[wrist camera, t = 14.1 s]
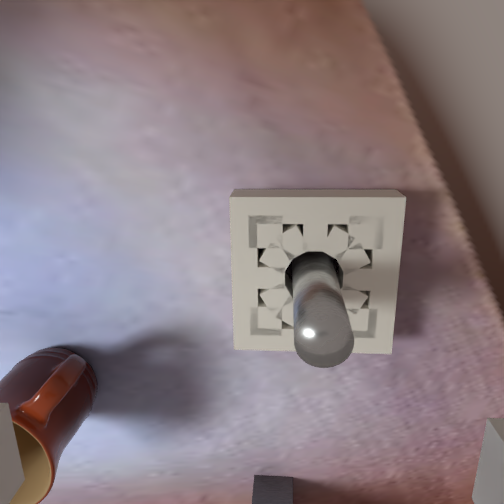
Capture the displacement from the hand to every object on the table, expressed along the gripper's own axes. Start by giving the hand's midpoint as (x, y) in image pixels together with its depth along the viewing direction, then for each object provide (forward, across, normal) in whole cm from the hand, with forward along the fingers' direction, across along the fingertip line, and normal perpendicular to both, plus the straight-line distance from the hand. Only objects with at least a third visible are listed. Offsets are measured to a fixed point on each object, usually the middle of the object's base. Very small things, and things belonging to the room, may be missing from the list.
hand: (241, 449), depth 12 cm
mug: (+24, -17, -13) cm, 32 cm away
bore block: (+23, +4, -3) cm, 24 cm away
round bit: (+23, +4, -3) cm, 24 cm away
